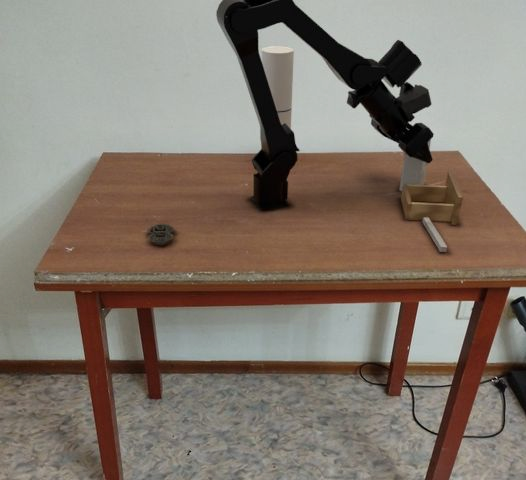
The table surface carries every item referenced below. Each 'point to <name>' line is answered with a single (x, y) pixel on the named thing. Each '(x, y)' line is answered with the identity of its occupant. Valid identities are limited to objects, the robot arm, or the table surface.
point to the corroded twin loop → (160, 234)
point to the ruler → (434, 234)
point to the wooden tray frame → (433, 193)
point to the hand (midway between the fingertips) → (420, 153)
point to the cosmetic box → (413, 171)
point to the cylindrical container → (280, 79)
